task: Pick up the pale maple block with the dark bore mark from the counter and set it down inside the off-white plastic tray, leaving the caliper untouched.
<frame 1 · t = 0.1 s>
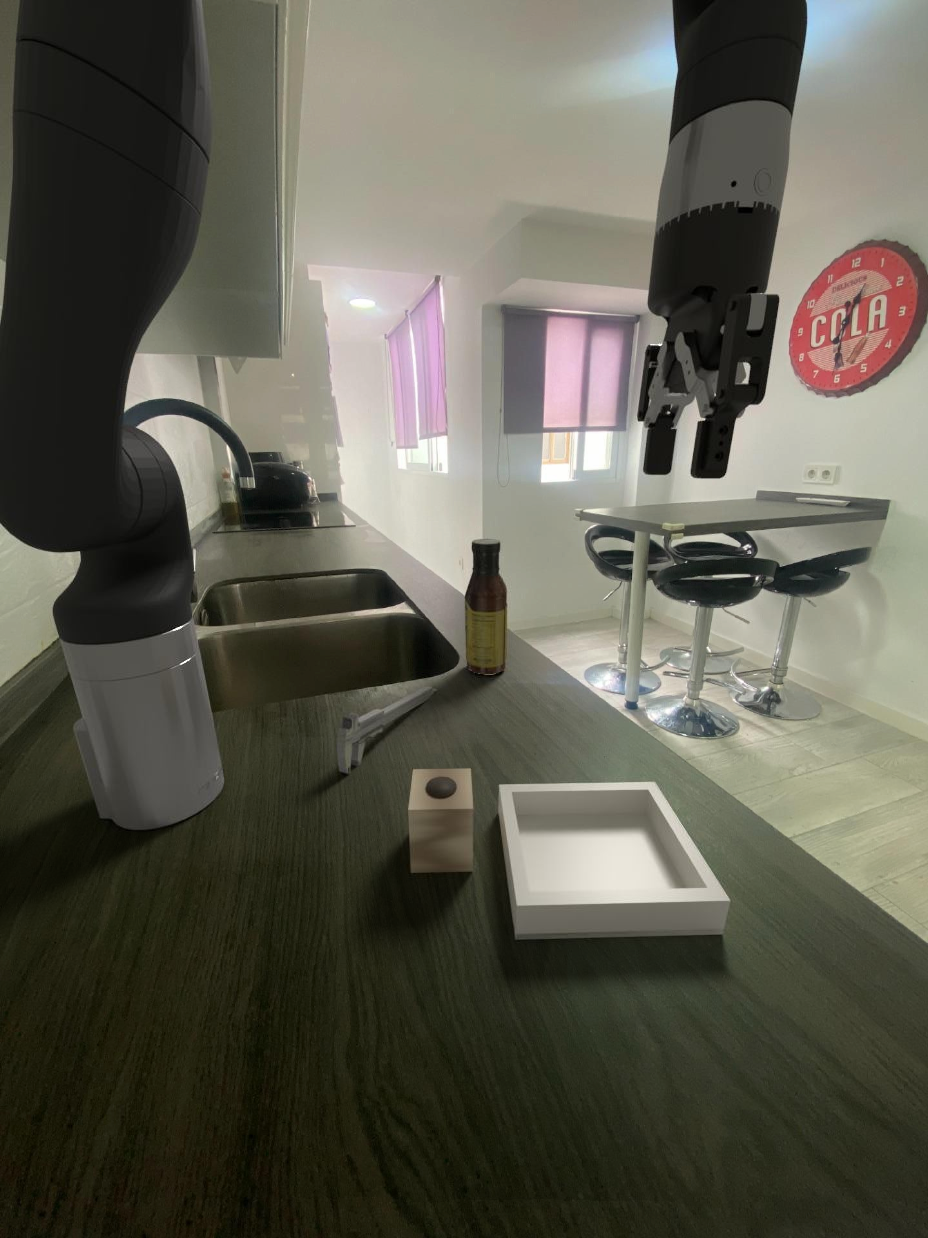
hand: (679, 476, 37), 29 cm above the worktop, tool pointing down, fingers open, 8 cm apart
block: (442, 848, 39), on the worktop
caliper: (395, 729, 57), on the worktop
sauce bottle: (485, 670, 72), on the worktop
tray: (593, 864, 37), on the worktop
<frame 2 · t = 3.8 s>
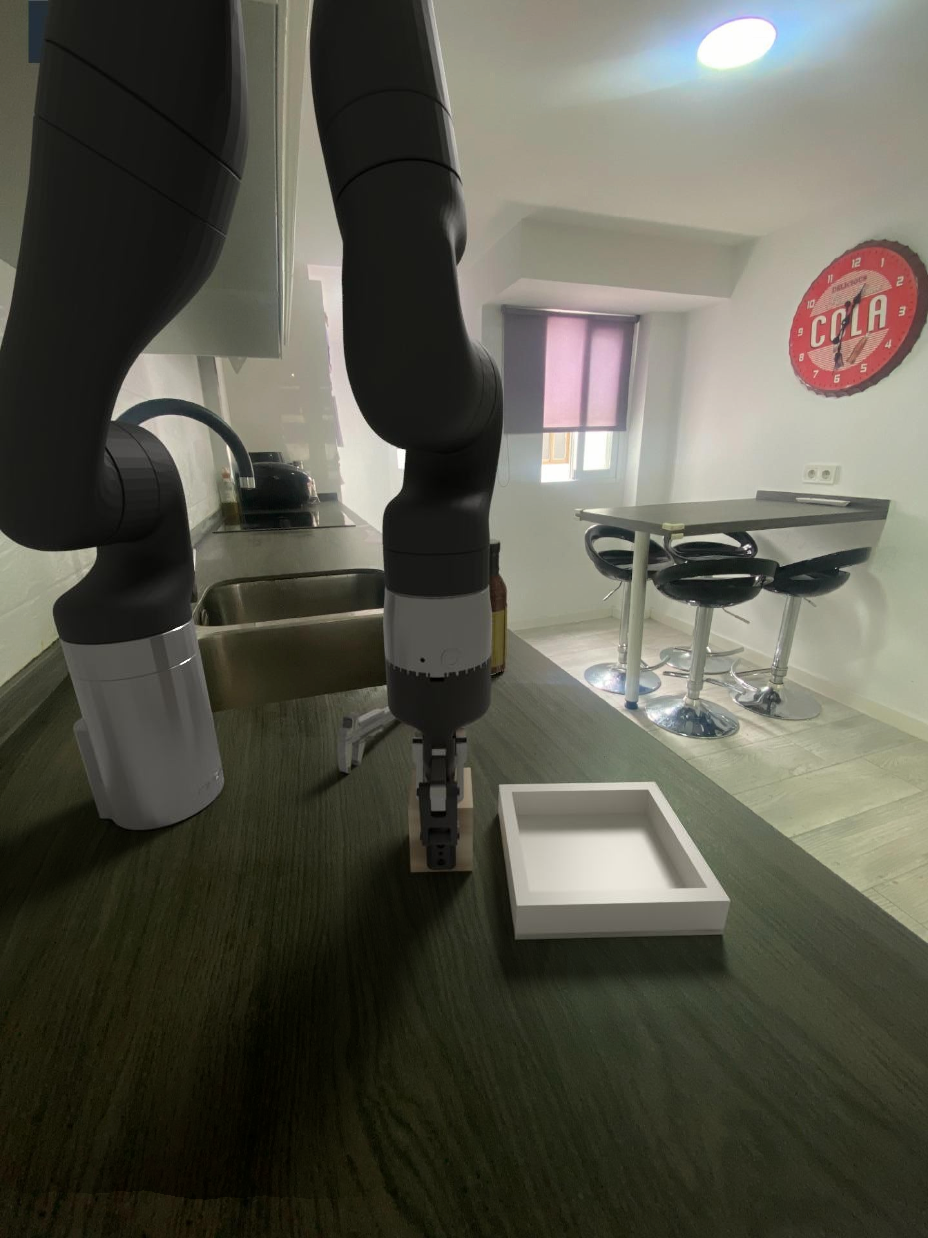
hand: (442, 838, 38), 1 cm above the worktop, tool pointing down, fingers closed on block, 4 cm apart
block: (442, 847, 39), on the worktop, touching gripper
everything else where it was.
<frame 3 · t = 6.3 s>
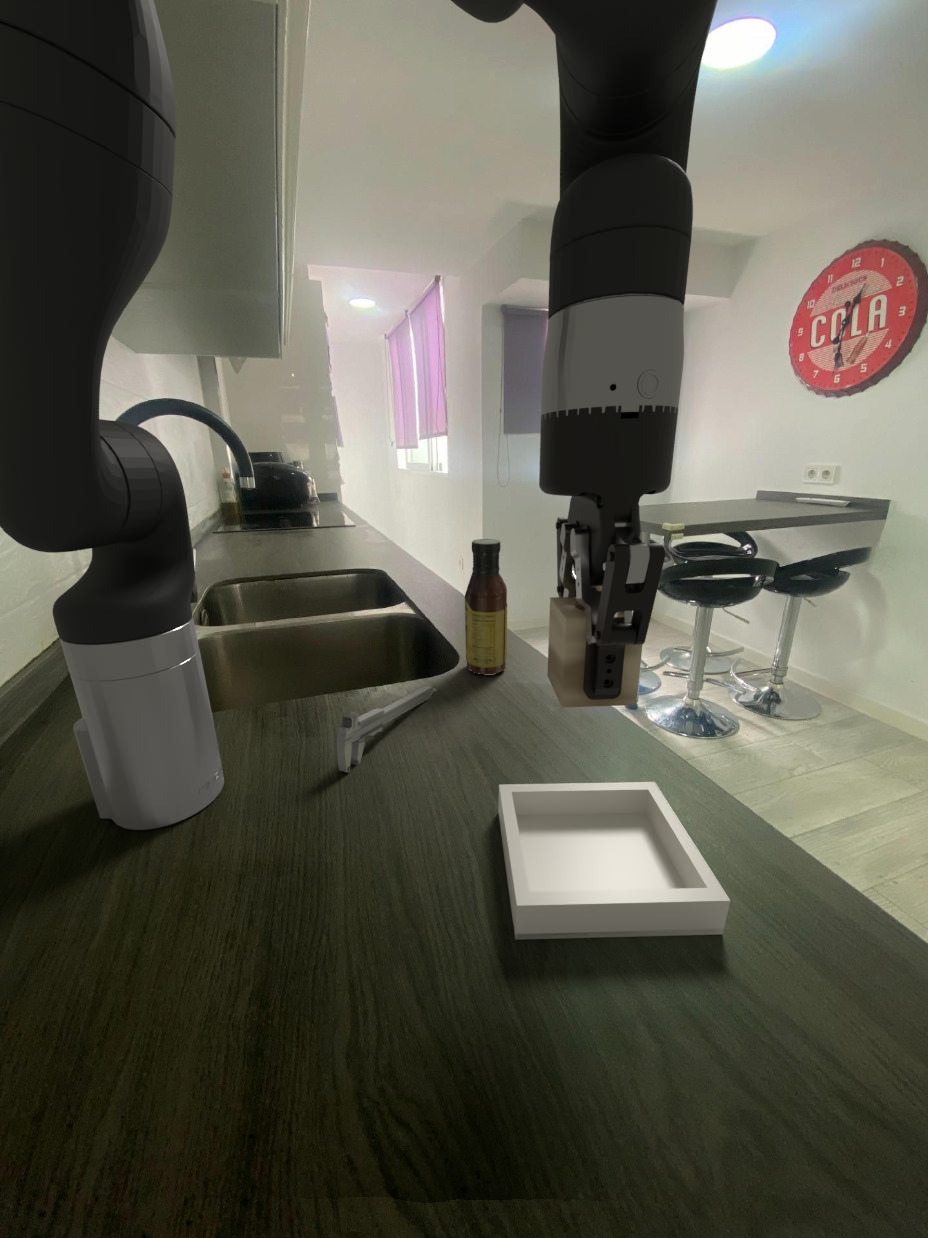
hand: (589, 677, 32), 16 cm above the worktop, tool pointing down, fingers closed on block, 4 cm apart
block: (588, 689, 32), point 15 cm above the worktop, touching gripper
everything else where it was.
when the fingers open (3 cm above the worktop, at t = 8.6 s): block drops 1 cm, resting on tray.
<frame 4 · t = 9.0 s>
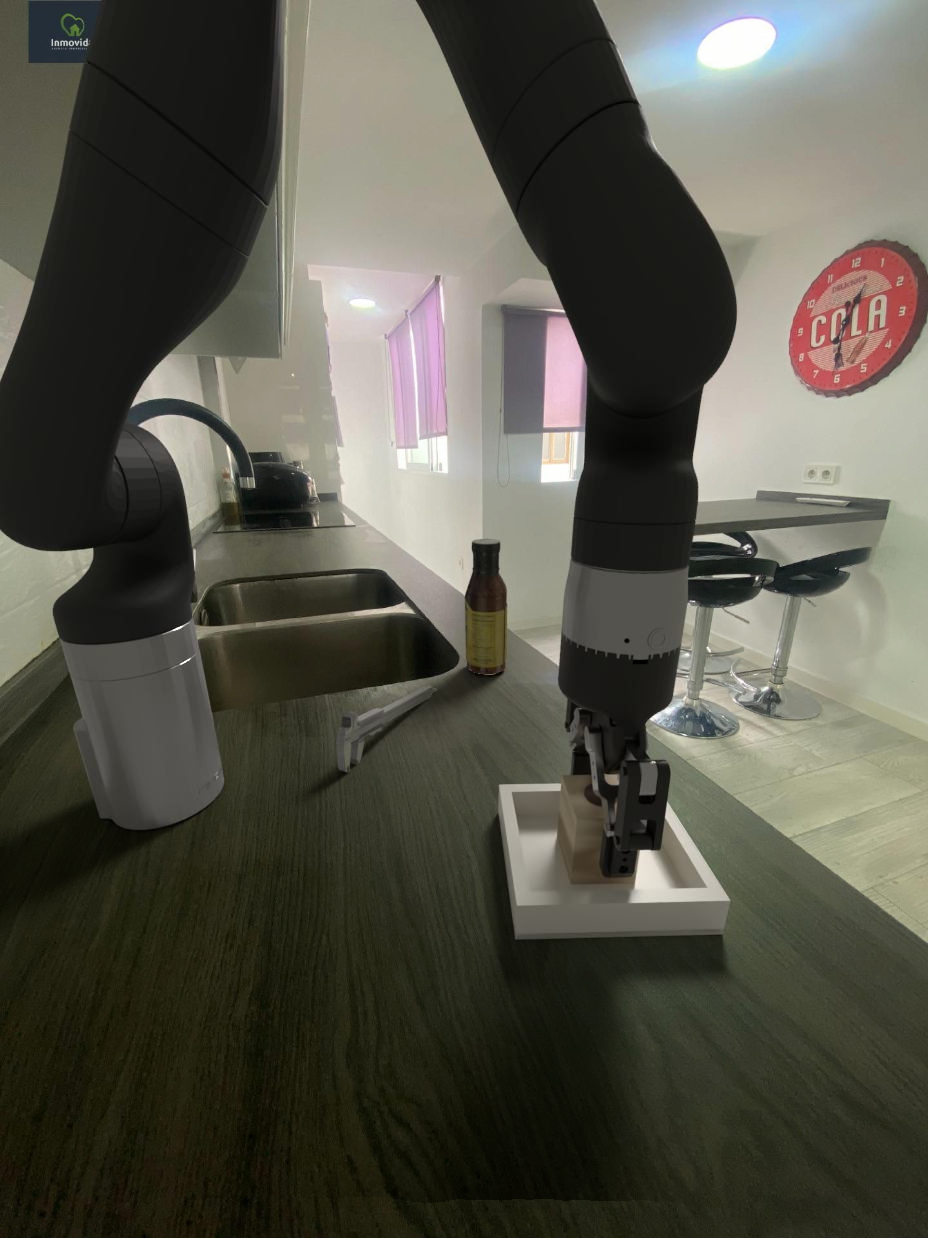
hand: (597, 827, 36), 4 cm above the worktop, tool pointing down, fingers open, 8 cm apart
block: (593, 858, 37), resting on tray
everything else where it was.
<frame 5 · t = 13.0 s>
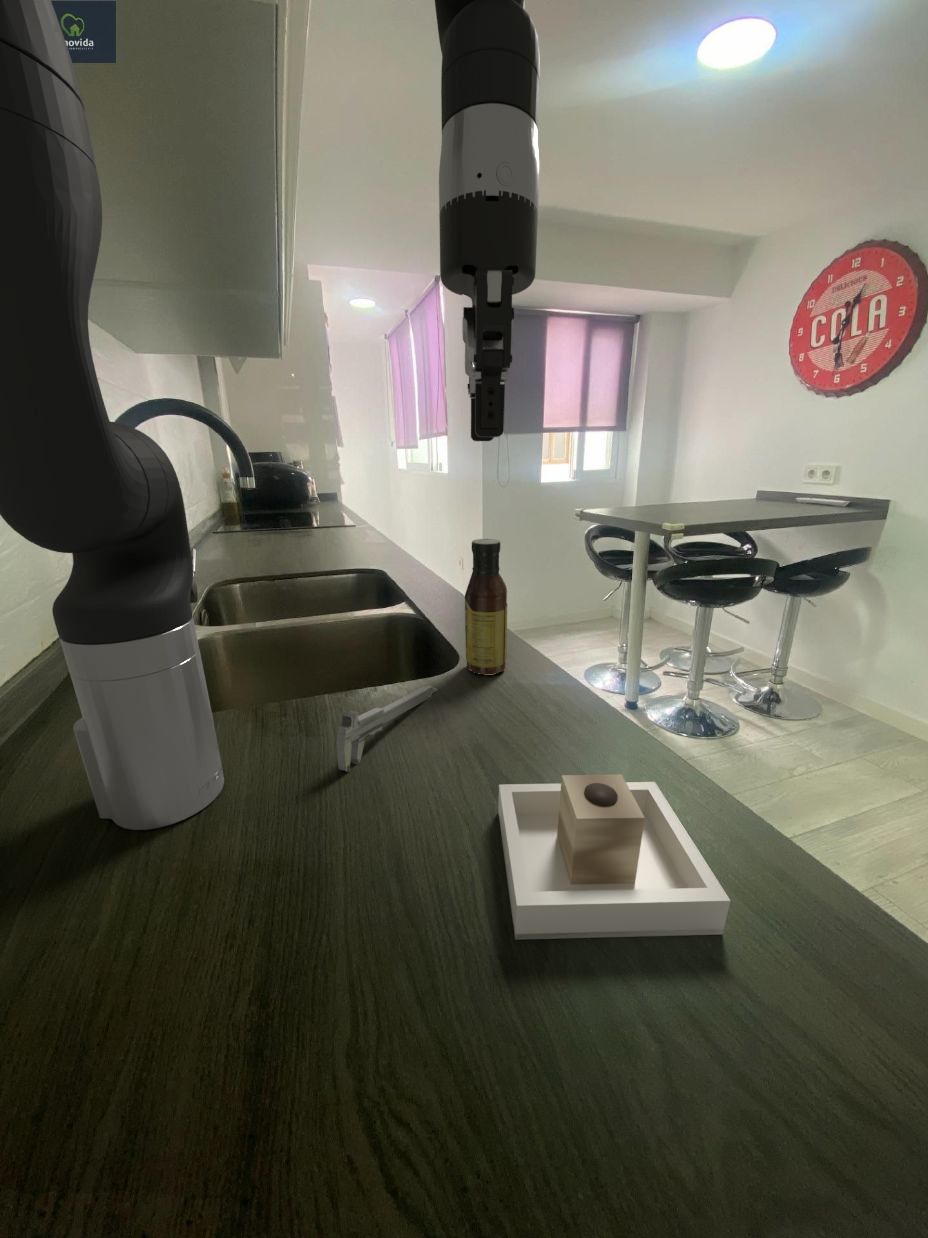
hand: (485, 439, 41), 32 cm above the worktop, tool pointing down, fingers open, 8 cm apart
nothing on the worktop moved.
at the end: block inside the target area on the tray (0.1 cm from its centre), point 0.5 cm above the tray's base; block tilted 0°; the gripper is holding nothing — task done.
